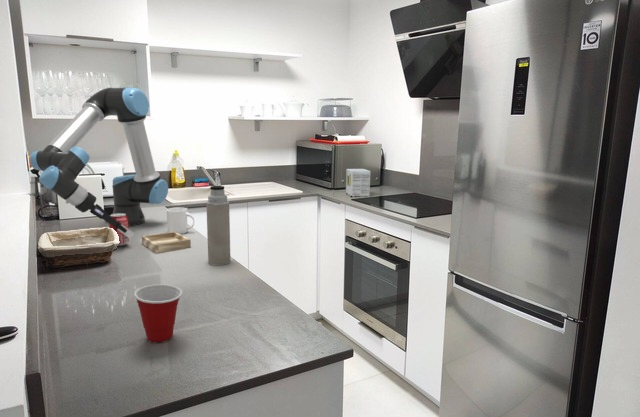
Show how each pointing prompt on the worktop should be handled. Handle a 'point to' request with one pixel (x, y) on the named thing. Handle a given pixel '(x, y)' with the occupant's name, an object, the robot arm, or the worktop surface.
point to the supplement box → (358, 181)
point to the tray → (166, 242)
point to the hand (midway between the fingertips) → (128, 233)
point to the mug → (178, 220)
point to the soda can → (124, 221)
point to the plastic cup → (158, 310)
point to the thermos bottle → (218, 226)
